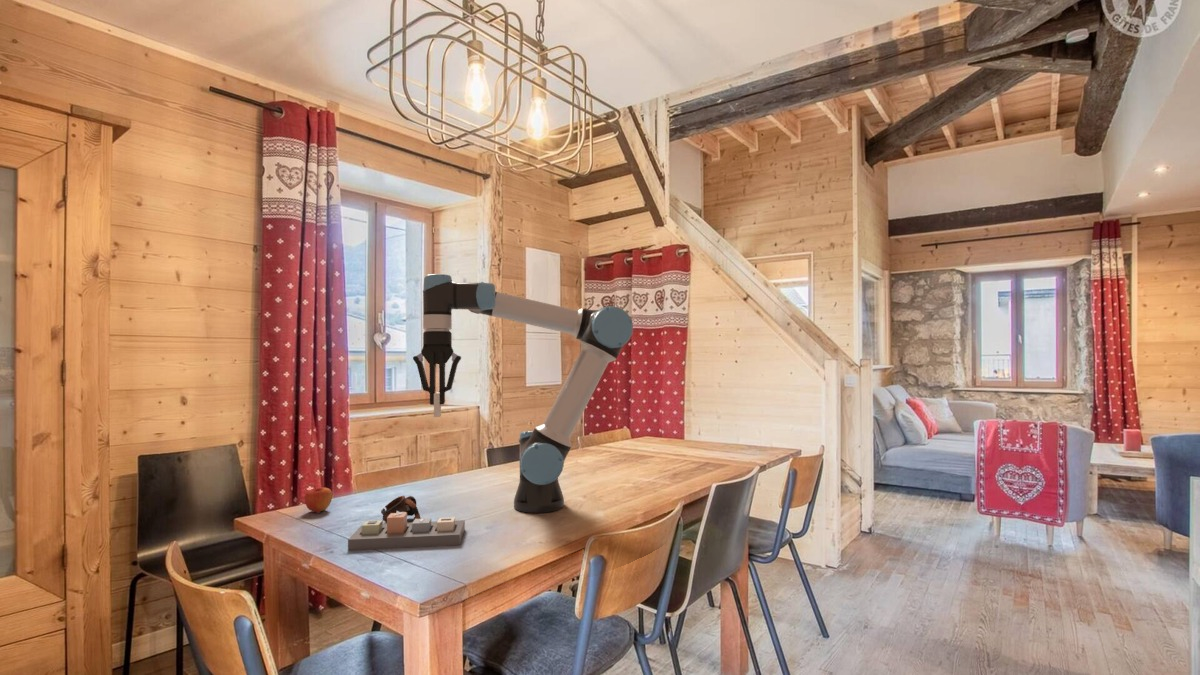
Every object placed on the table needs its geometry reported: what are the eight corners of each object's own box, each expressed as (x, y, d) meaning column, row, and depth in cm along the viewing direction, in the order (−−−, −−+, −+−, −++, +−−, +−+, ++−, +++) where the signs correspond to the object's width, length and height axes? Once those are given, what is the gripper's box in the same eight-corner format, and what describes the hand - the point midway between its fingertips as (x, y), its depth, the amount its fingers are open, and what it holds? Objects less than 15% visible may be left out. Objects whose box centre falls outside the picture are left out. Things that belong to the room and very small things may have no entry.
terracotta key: (407, 528, 146) (407, 511, 146) (403, 533, 142) (403, 516, 142) (390, 529, 146) (390, 512, 146) (386, 534, 142) (386, 516, 142)
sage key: (382, 536, 145) (382, 519, 146) (378, 541, 141) (378, 524, 142) (366, 536, 145) (366, 520, 145) (361, 542, 141) (361, 524, 141)
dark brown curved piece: (417, 529, 154) (401, 504, 153) (388, 543, 155) (371, 519, 154) (431, 506, 166) (416, 483, 164) (404, 519, 167) (388, 496, 166)
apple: (337, 508, 173) (337, 482, 173) (321, 515, 166) (321, 487, 166) (315, 507, 174) (315, 481, 174) (298, 514, 167) (298, 487, 167)
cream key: (455, 532, 148) (455, 516, 148) (453, 537, 144) (453, 520, 144) (439, 533, 147) (439, 517, 147) (436, 538, 143) (436, 521, 143)
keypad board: (464, 529, 152) (464, 520, 152) (459, 544, 140) (459, 534, 140) (362, 534, 149) (362, 524, 149) (347, 550, 137) (348, 539, 137)
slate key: (431, 533, 147) (431, 517, 147) (428, 538, 143) (428, 522, 143) (415, 534, 146) (415, 518, 147) (412, 539, 142) (412, 522, 143)
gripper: (463, 331, 163) (463, 414, 162) (415, 331, 161) (415, 415, 160) (460, 330, 155) (460, 417, 155) (410, 330, 154) (410, 418, 153)
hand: (437, 416), depth 158 cm, fingers closed
